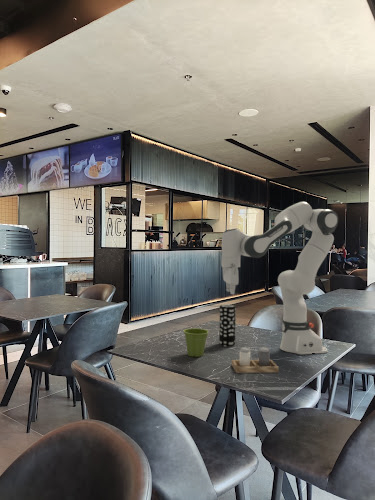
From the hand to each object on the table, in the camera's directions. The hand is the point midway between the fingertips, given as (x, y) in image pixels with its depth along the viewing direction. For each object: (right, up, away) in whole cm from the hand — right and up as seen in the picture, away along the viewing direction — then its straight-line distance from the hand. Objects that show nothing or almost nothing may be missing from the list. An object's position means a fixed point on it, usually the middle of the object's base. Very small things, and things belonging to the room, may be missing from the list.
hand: (230, 292), depth 177 cm
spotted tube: (0, -29, +18) cm, 34 cm away
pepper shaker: (+11, -29, -22) cm, 38 cm away
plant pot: (-16, -29, -1) cm, 33 cm away
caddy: (+7, -29, -22) cm, 38 cm away
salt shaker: (+3, -28, -22) cm, 36 cm away
